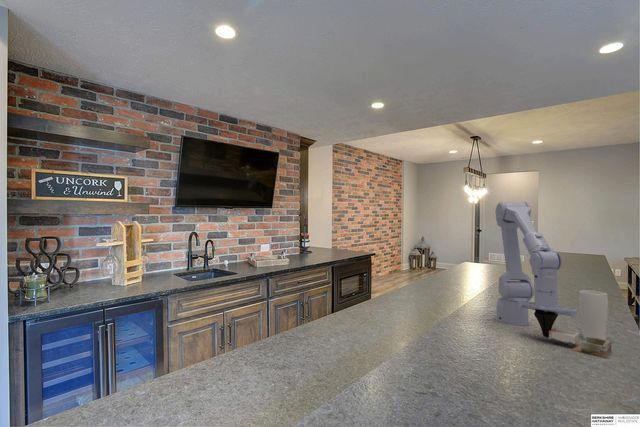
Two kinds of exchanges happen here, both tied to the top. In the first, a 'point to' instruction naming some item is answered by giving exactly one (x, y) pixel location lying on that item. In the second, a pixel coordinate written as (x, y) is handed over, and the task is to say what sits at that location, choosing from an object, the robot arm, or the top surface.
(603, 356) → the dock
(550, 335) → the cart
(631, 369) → the top surface
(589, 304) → the drinking glass
